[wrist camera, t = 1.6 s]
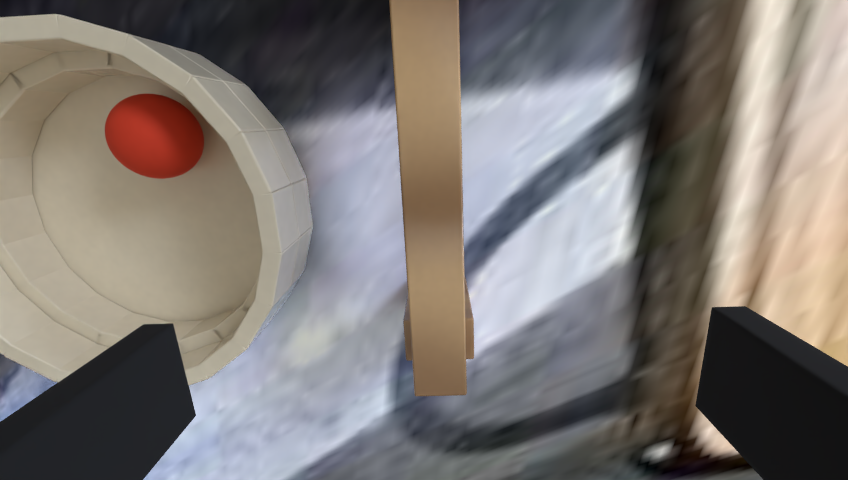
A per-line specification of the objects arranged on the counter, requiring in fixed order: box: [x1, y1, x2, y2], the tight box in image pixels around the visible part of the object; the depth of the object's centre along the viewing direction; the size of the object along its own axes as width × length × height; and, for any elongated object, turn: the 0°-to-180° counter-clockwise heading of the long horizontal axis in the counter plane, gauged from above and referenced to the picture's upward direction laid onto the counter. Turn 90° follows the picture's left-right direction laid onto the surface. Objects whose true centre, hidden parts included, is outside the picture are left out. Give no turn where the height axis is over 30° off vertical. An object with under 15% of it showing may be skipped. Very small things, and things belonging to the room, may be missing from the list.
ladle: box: [389, 0, 474, 396], centre depth 16 cm, size 22×6×7 cm, turn 3°
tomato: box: [105, 94, 204, 179], centre depth 17 cm, size 4×4×4 cm
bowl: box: [0, 14, 313, 385], centre depth 18 cm, size 16×16×5 cm
